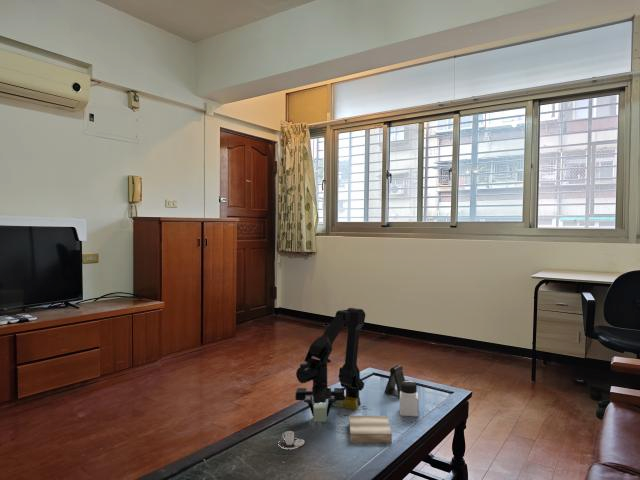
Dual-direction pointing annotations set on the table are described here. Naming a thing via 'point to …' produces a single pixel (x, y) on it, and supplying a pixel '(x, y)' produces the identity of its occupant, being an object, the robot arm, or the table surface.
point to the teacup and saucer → (291, 440)
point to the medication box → (347, 403)
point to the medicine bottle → (408, 399)
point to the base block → (369, 429)
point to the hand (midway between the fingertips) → (320, 416)
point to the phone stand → (395, 381)
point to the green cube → (320, 412)
